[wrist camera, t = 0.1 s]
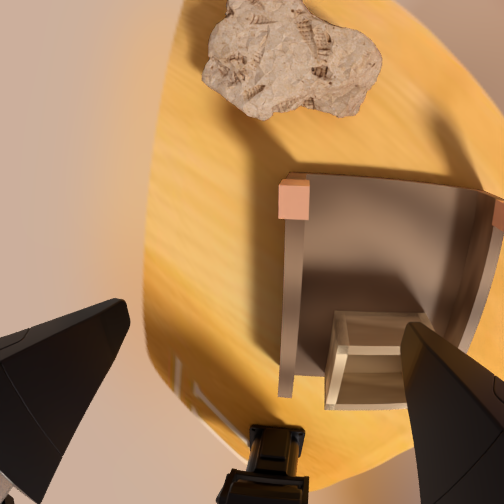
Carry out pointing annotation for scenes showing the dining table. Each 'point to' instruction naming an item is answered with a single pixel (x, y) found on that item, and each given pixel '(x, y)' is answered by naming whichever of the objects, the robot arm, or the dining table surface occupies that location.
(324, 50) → the stone
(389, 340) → the box
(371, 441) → the dining table surface
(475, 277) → the bay
